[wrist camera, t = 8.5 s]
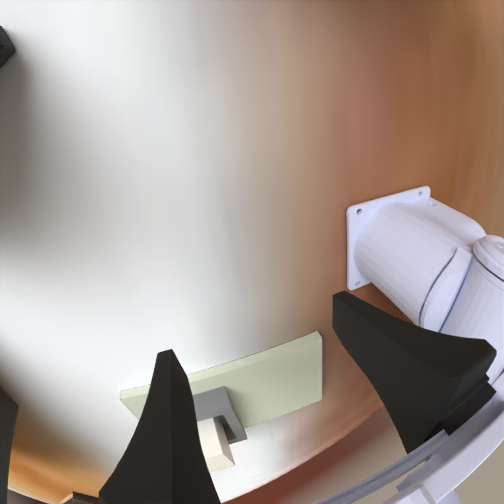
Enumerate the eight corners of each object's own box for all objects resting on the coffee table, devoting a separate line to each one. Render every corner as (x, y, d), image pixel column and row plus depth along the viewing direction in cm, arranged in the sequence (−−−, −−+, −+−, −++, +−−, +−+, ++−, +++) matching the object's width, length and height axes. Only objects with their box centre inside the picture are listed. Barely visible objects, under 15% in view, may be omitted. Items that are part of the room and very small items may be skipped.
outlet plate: (317, 330, 27) (334, 355, 25) (318, 393, 34) (330, 414, 31) (119, 391, 24) (120, 420, 21) (166, 441, 30) (170, 464, 27)
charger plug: (208, 402, 26) (222, 453, 21) (221, 419, 28) (235, 465, 23) (172, 413, 26) (181, 464, 21) (187, 428, 28) (198, 475, 23)
